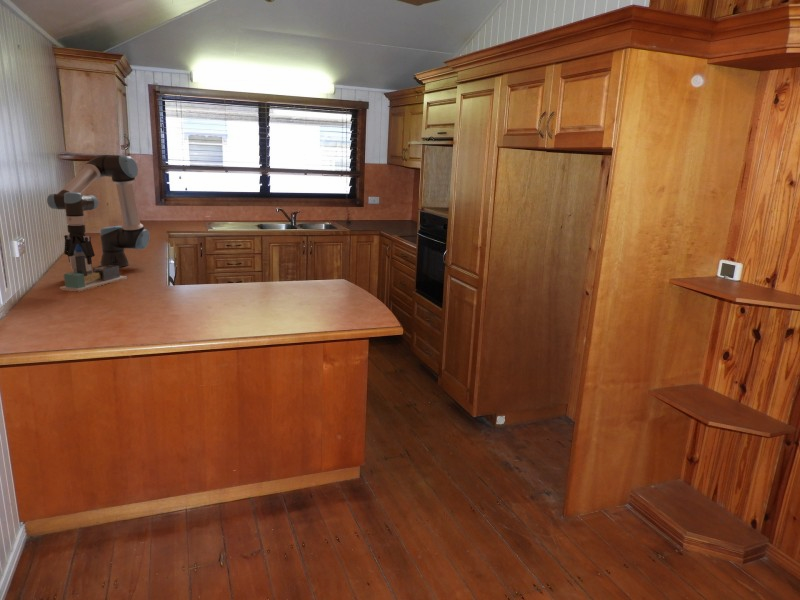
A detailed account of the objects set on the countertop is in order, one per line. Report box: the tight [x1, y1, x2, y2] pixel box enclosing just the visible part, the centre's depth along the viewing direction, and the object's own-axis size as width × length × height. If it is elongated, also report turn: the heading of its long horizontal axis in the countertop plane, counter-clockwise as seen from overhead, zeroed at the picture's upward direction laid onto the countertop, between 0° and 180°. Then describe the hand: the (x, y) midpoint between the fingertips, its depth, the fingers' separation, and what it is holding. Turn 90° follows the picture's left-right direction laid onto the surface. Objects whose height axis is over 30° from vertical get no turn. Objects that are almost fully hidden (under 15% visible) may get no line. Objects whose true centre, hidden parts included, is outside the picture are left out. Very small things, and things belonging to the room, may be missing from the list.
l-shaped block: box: [75, 256, 102, 282], centre depth 284 cm, size 18×3×13 cm, turn 164°
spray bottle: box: [73, 244, 94, 274], centre depth 300 cm, size 9×9×25 cm
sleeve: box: [93, 265, 121, 281], centre depth 297 cm, size 11×6×6 cm, turn 164°
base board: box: [59, 275, 128, 293], centre depth 290 cm, size 32×12×1 cm, turn 164°
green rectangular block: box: [63, 272, 85, 288], centre depth 278 cm, size 4×8×6 cm, turn 74°
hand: (81, 269), depth 281 cm, fingers open, 9 cm apart
